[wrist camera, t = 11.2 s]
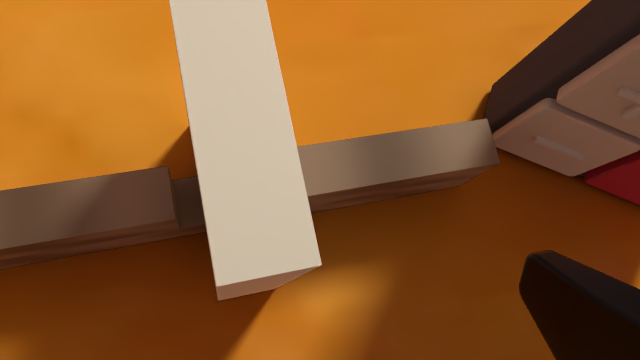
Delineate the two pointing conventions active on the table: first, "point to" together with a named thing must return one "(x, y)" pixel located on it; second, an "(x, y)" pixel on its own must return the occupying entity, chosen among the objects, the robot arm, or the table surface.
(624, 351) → the robot arm
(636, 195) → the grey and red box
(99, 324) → the table surface
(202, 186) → the notched plate
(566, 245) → the table surface
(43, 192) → the slotted beam
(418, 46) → the table surface
